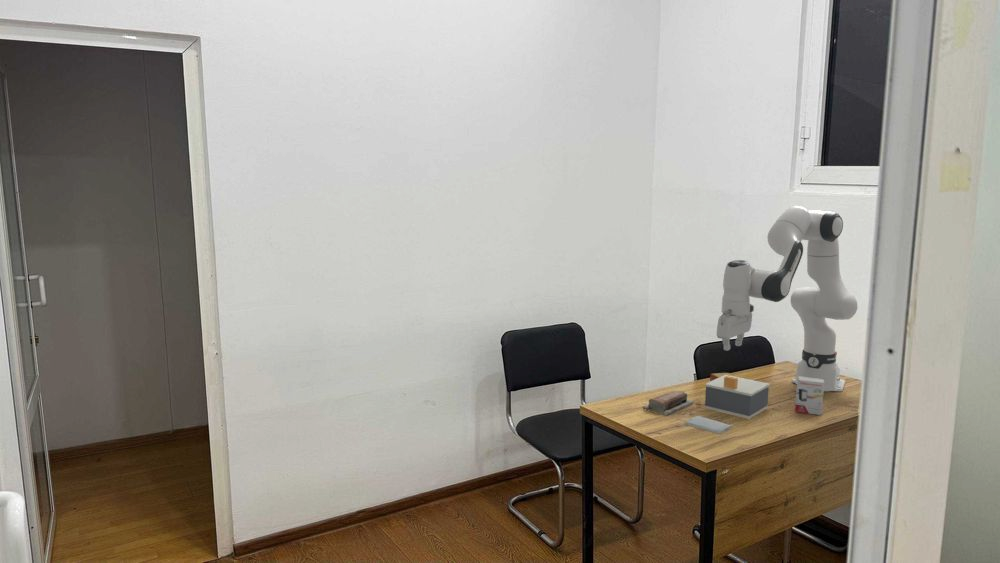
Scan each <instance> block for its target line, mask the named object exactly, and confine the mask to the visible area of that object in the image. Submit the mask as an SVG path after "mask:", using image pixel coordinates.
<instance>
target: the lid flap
mask: <svg viewBox="0 0 1000 563" xmlns="http://www.w3.org/2000/svg"><path fill="white" fill-rule="evenodd" d="M734 376H735V375H733V376H729V375H723V376H721V377H719V378H717V379H715V380H713V381H710V380H709V381H708V382H706V383H705V384H704V387H705V388H706V387H711V388H715V389H720V390H724V391H729V392H733V393H738V394H743V395H747V396H753V395H755V394H756V393H758V392H760V391H762V390H764V389H766V388H767V387H769V388H770V387H771V383H768V382H763V381H759V380H754V379H749V378H743V377H738V376H735V377H734Z"/></svg>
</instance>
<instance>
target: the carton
mask: <svg viewBox="0 0 1000 563" xmlns="http://www.w3.org/2000/svg"><path fill="white" fill-rule="evenodd" d="M723 375H729V376H734V377H736V376H735V375H733V374H731V373H730V372H718V373H716V372H715V373H710V377H709V378H710V380H709V382H710V381H713V380H715V379H717V378H719V377H721V376H723Z"/></svg>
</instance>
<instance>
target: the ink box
mask: <svg viewBox="0 0 1000 563" xmlns="http://www.w3.org/2000/svg"><path fill="white" fill-rule="evenodd" d="M795 392H796V393H795V401H794V411H795V412H796V413H803V414H810V415H817V416H818V415H819V416H822V414H823V405H824V404H823V402H824V392H825V391H824V380H823V379H817V378H809V377H802V376H799V377H798V380H797V384H796V391H795Z"/></svg>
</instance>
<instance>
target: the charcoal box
mask: <svg viewBox="0 0 1000 563" xmlns="http://www.w3.org/2000/svg"><path fill="white" fill-rule="evenodd" d="M769 388H770V386H769V387H767V388H766V389H764V390H762V391H760V392H758V393H756V394H755V395H753V396H747V395H743V394H738V393H733V392H729V391H724V390H720V389H715V388H711V387H706V386H705V399H704V409H705V410H711V411H714V412H719V413H722V414H727V415H731V416H735V417H739V418H742V419H743V418H744V419H747V420H750V419H752V418H754V417H756V416H757V415H758V414H760V413H762V412H763V411H765V410H766V409H768V402H769V390H770V389H769Z"/></svg>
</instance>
